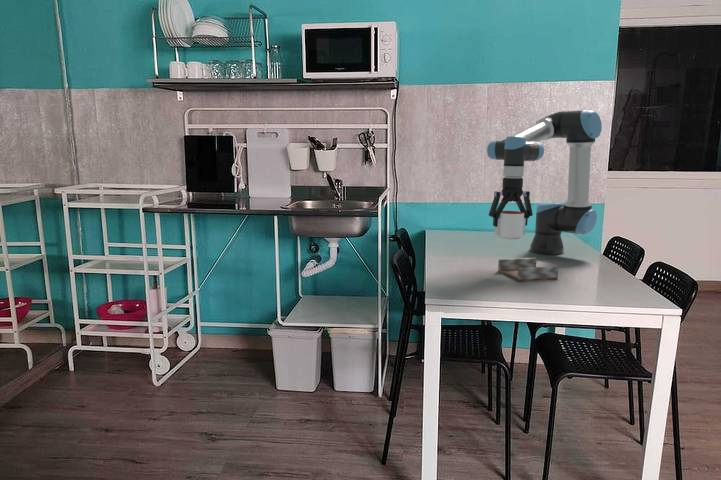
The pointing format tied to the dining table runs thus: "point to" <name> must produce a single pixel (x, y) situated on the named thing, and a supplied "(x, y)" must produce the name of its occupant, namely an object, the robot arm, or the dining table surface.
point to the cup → (511, 224)
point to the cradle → (526, 270)
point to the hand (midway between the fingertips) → (509, 234)
